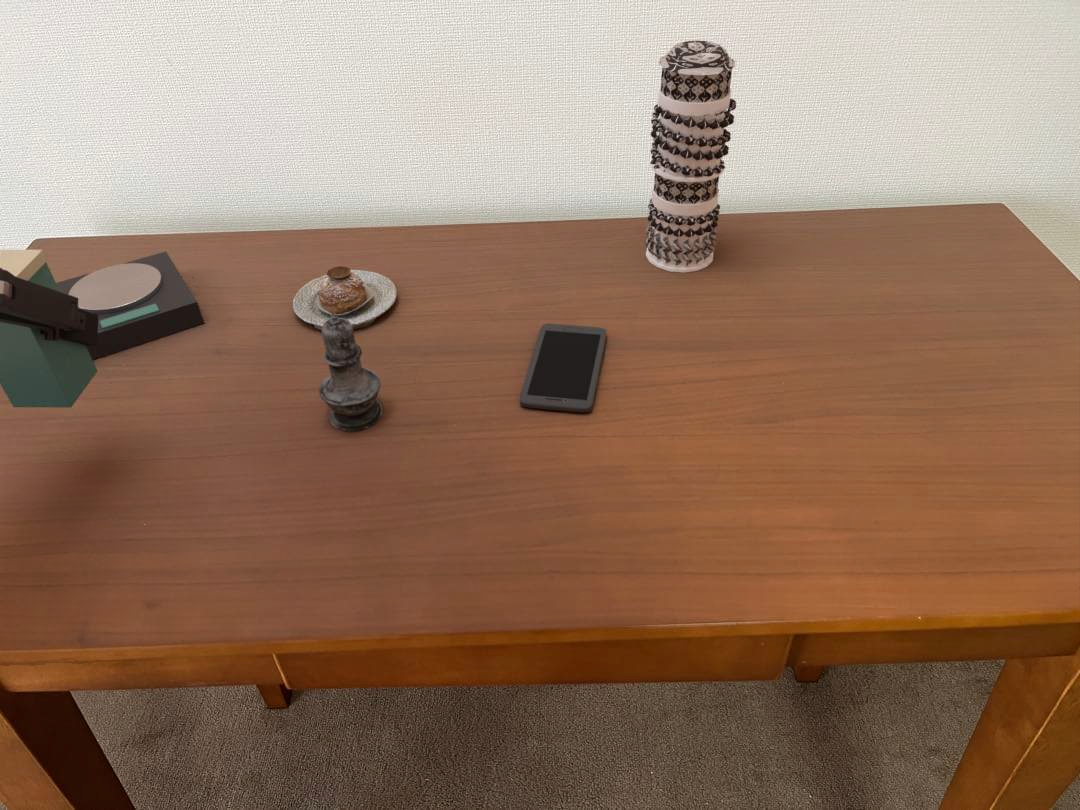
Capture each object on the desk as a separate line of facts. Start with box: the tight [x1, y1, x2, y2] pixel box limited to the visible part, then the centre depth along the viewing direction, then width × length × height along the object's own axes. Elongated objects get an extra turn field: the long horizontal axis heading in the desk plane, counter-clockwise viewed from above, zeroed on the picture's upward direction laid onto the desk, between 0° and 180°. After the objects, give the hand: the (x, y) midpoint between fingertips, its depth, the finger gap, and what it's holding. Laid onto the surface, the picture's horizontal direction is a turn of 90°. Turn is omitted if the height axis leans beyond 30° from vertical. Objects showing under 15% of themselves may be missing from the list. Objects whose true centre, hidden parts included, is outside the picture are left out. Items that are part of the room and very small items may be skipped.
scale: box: [56, 250, 205, 361], centre depth 95 cm, size 14×14×3 cm
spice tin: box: [0, 249, 98, 409], centre depth 67 cm, size 5×5×12 cm
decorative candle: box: [645, 40, 737, 274], centre depth 95 cm, size 9×9×25 cm
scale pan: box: [69, 263, 162, 314], centre depth 95 cm, size 10×10×1 cm
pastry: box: [292, 265, 398, 331], centre depth 95 cm, size 12×12×5 cm
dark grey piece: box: [318, 312, 384, 433], centre depth 77 cm, size 6×6×12 cm
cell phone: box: [519, 323, 607, 414], centre depth 85 cm, size 7×14×1 cm, turn 170°
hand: (60, 330), depth 71 cm, fingers closed on spice tin, 5 cm apart
